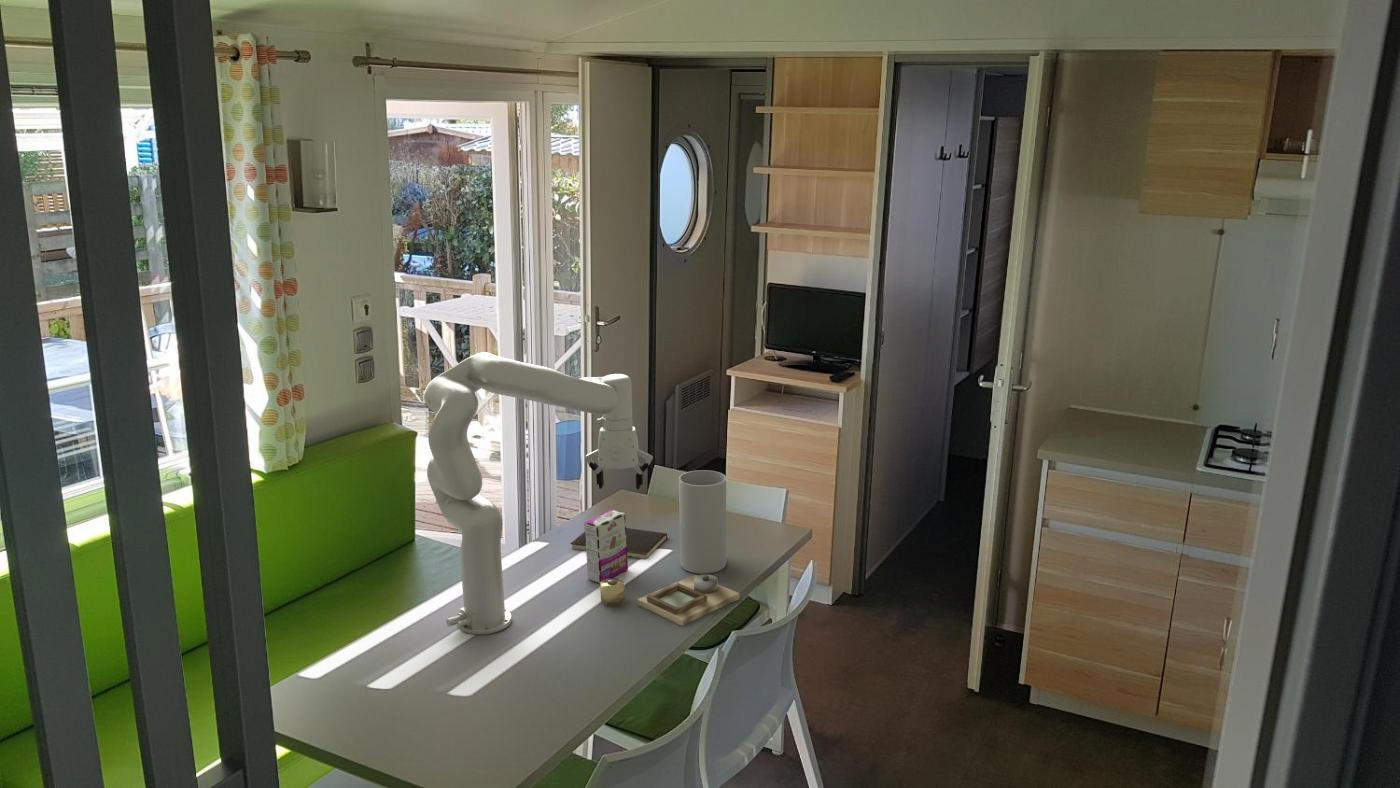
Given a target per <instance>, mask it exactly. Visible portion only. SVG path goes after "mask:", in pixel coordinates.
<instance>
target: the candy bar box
mask: <svg viewBox="0 0 1400 788" xmlns="http://www.w3.org/2000/svg"><path fill="white" fill-rule="evenodd" d="M626 528H627V524H626V513H625V512H622V511H620V510H616V509H611V510H609V511H607V512H604V513H602V514H600V515H598V516H596V517H593V518H591V519H589V520H587V521H585V522H584V532H585V537H586V550H585V552H586V566H587V569H586V570H587V580H588V579H590V580H589V581H591V580H592V581H591V582H594V581H595V583H597V582H598V583H597V584H600V583H601V581H602V580H604V579H607V578H612V577H613V578H615V577H617V576H618V575H620V574H623V573H624V572H625V571H628V570H629V564H628V556H627V541H626ZM616 575H617V576H616ZM614 576H615V577H614Z"/></svg>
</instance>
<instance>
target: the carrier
mask: <svg viewBox="0 0 1400 788" xmlns="http://www.w3.org/2000/svg"><path fill="white" fill-rule="evenodd" d="M718 583H719V582H718V577H716V575H715V576H714V575H712V574H699V575H697V574H693V575H690V576H688V577H686V578H684V579H681V580H679V581H677V582H674V583H672V584H669V585H667V586H665V587H662V588H660V589H658V590H656V591H654V592H651V593H649V594H646V595H644V596H641V597H640V598H637V606H640V607H641V608H643V609H646V610H648V611H650V612H652V613H654V614H656V615H659V616H660V617H662V618H664V619H667V620H668V621H671V622H673V623H675V624H677V625H679V626H685V625H686V624H688V623H691V622H693V621H696V620H698V619H700V618H701V617H705V616H706V615H708V614H710V613H713V612H715V611H717V610H719V609H720V608H724V607H725V606H727V605H730V604H731V603H735V602H736V601H738V600H740V592H737V591H735V590H732V589H730V588H728V587H725V586H723V585H720V584H718Z"/></svg>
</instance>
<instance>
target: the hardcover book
mask: <svg viewBox="0 0 1400 788" xmlns="http://www.w3.org/2000/svg"><path fill="white" fill-rule="evenodd" d="M667 538H668V533H667V532H660V531H654V530H645V529H636V528H630V527H626V541H627V557H629V556H632V558H636V557H638V558H637V559H643V558H644V560H646V559H647V558H648V557H649V556H650V555H651V554H652V553H653V552H654V551H655V550H656V549H657V548H658V547H660V545H661V544H662V543H663V542H664V541H665V540H666V539H667ZM569 544H570V545H571V546H572V547H571V548H572V549H573V550H580V549H581V551H586V537H585V531H584V532H582V533H581V534H579V536H578V537H576V538H575V539H574V540H573V541H572V542H570V543H569Z"/></svg>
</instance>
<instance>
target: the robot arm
mask: <svg viewBox="0 0 1400 788" xmlns="http://www.w3.org/2000/svg"><path fill="white" fill-rule="evenodd" d="M481 389H482V390H484V391H487V392H489V393H493V394H497V395H501V396H505V397H511V398H516V399H522V400H527V401H532V402H536V403H541V404H544V405H548V406H549V405H550V406H554V407H561V408H565V409H569V410H575V411H579V412H582V413H583V412H584V413H589V414H593V415H597V416H598V415H599V416H602V417H600V418H597V419H596V424H597V425H601V426H602V427H600V429H599V432H598V440H597V441H598V444H597V449H596V450H594V451H592V452H590V453H587V454H586V455H585V457H584V459H585V461H586V463H587V465H588V466H589V468H590V469H591V470H593V472H594V473H595V476H596V485H598V489H601V490H602V489H603V487H604V485H605V484H604V483H605V481H604V471H603V469H620V470H621V469H624V470H625V469H629V470H631V469H634V470H635V472H636V473H635V487H636V488H635V489H637V490H640V488H641V487H642V486H643V483H644V479H643V477H644V476H643V475H644V474H643V473H644V472H645V471H646V470H647V469H648V468H649V467H650V465H651V463H652V461H653V460H654V459H653V458H654V457H653V455H652V454H650V453H647V452H646V451H644V450H641V449H640V448H639V441H638V435H637V430H636V427H635V426H634V425H633V423H634V422H633V395H632V393H633V391H632V380H631V378H630V377H629V375H628V374H627V375H626V374H623V373H613V374H612V373H611V374H607V375H605V376H595V377H594V376H589V377H588V376H585V377H579V378H578V377H575V376H572V375H568V374H565V373H563V372H561V371H559V370H555V369H553V368H550V367H546V366H543V365H538V364H532V363H527V362H522V361H518V360H515V359H510V358H506V357H502V356H499V355H495V354H493V353H490V352H487V351H482V352H478V353H475V354H473V355H471V356H469V357H467V358H465V359H463V360H462V361H461V362H458V363H457V364H455V365H453V366H451V368H449V369H447V370H446V371H443V372H442V373H440V374H439V375H437V376H436V377H434V378H433V379H432V380H431V381H429V383H428V384H427V385H426V388H425V390H424V402H425V404H426V405H427V407H428V408H429V409H430V410H431V411H432V412H434V413H436V414H435V416H434V419H433V420H432V422H431V425H430V428H429V432H428V437H427V438H428V444H429V450H430V452H431V455H432V457H431V458H430V460H429V462H428V465H427V467H426V468H427V469H426V475H427V480H428V483H429V485H430V488H431V491H432V493H433V496H434V498H435V501H436V503H437V505H438V507H439V510H440V512H441V514H442V515H443V517H444V519H445V521H446V522H447V523H448V524H450V525H451V526H452V527H454V528H455V529H456V530H458V531H459V532H460V534H461V543H460V549H459V560H460V561H459V563H460V571H461V584H462V595H463V596H462V598H463V599H462V600H463V607H460V608H459V613H457V614H456V616H451V617H449V618H447V619H446V620H445V623H446V626H447V627H448V628H450V627H452V626H455V625H457V628H458V629H460V630H461V631H463V632H464V633H467V634H470V635H471V634H472V635H490V634H494V633H498V632H500V631H503V630H504V629H506V628H507V627H509V626H510V625H511V623H512V621H513V615H512V613H511V611H509V610H508V609H506V608H505V594H504V579H503V564H502V563H503V562H502V561H503V560H502V545H501V543H502V532H503V516H502V513H501V512H500V509H499V508H498V507H497V506H496V505H495V503H494V502H492V501H490V500H489V499H488V498H486V497H484V496H482V495H481V494H479V493H481V490H482V487H483V477H482V473H481V470H480V468H479V466H478V463H477V461H476V459H475V456H474V453H473V452H472V448H471V446H470V442H469V440H468V429H469V426H470V425H471V423H472V420H474V418H475V416H476V414H477V412H478V408H479V398H478V395H477V394H476V392H478V391H480V390H481ZM596 457H597V463H596V462H595V461H594V460H593V459H594V458H596ZM640 458H643V459H644V460H645V462H644V463H643V464H641V463H640V462H639V461H640Z"/></svg>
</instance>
